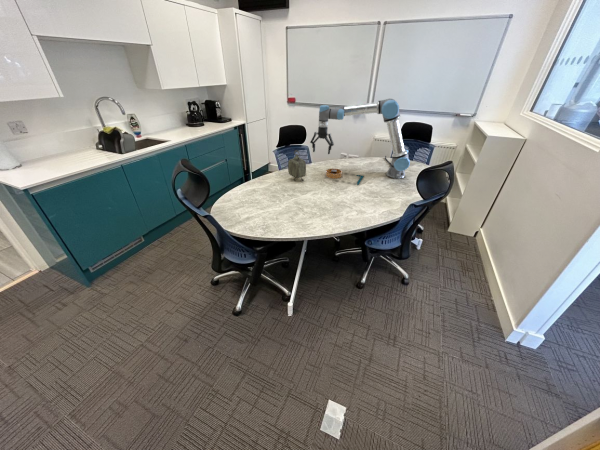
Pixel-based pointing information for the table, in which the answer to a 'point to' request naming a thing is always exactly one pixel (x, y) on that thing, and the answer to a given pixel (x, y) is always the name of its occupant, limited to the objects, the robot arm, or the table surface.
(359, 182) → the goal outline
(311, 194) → the table surface
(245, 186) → the table surface
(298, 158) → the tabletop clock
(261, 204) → the table surface
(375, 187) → the table surface
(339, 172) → the bowl
